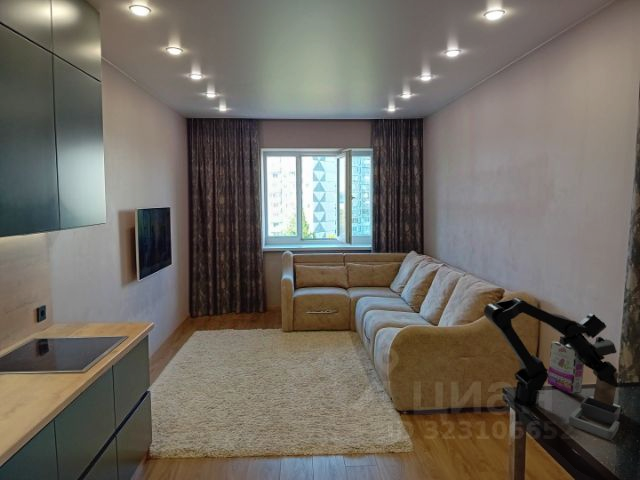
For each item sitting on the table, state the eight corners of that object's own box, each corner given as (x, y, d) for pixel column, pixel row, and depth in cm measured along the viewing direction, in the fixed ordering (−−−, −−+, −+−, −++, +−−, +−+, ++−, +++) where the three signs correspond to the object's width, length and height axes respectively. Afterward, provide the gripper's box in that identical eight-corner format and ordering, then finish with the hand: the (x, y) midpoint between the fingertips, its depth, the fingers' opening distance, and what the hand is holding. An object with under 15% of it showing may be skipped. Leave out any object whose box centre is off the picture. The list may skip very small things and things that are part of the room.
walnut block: (598, 407, 160) (604, 371, 158) (593, 400, 165) (598, 365, 163) (612, 409, 160) (618, 373, 158) (606, 402, 164) (612, 367, 162)
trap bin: (579, 413, 156) (581, 402, 156) (585, 407, 161) (587, 396, 161) (613, 426, 150) (615, 414, 149) (618, 419, 155) (620, 407, 154)
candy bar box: (582, 393, 170) (586, 348, 169) (571, 394, 168) (576, 349, 167) (556, 382, 180) (560, 340, 180) (546, 383, 179) (550, 340, 178)
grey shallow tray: (568, 423, 149) (569, 416, 149) (576, 414, 156) (578, 407, 156) (611, 440, 141) (612, 432, 141) (618, 429, 148) (619, 422, 147)
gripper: (614, 342, 150) (646, 378, 150) (590, 324, 168) (619, 356, 168) (584, 362, 152) (616, 398, 152) (564, 342, 170) (592, 374, 170)
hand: (611, 381), depth 161 cm, fingers open, 8 cm apart
